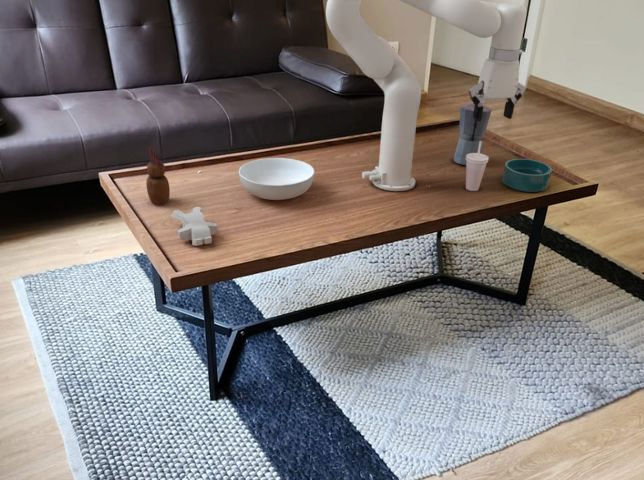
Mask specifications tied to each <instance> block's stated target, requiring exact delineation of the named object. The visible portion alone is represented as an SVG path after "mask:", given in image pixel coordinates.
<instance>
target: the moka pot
mask: <svg viewBox="0 0 644 480" xmlns="http://www.w3.org/2000/svg"><path fill="white" fill-rule="evenodd" d="M474 107H475V104H473V102H472V103H464V104H462V105H460V106H459V138H458V142H457V146H456V148H455V152H454V155H453V162H454V163H456V164H458V165H462V166H466V162H467V160H466V155H467V154H469V153H478V148H479V142H480V141H482V142H481V148H480V154H483V139H484V134H485V133H486V131H487V128H488V124H489V121H490V117H491V114H492V111H493V110H492V108H491V107H489V106H487V105H485V104H483V105H482V107H483V114H482V120H481V121H477V120H476V119H474V118H473V113H474Z"/></svg>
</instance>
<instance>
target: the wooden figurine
mask: <svg viewBox="0 0 644 480" xmlns="http://www.w3.org/2000/svg"><path fill="white" fill-rule="evenodd" d="M149 159H150V160H149V162H148V163H147V165H146V173H147V175H148V177H147V178H146V191H147V196H148V198H149V200H150V202H151V203H152V204H153V205H157V206H158V205H164V204H166V203H168V201H169V199H170V195H171V193H170V192H171V191H170V190H171V189H170V183H169V180H168V178H167V176H166V175H165V173H166V166H165V164H164V163H163V162H162V161H160V159H159V157H158V155H157V154H156V153H155V149H152V147H151V145H150V146H149Z"/></svg>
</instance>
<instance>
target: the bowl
mask: <svg viewBox="0 0 644 480" xmlns="http://www.w3.org/2000/svg"><path fill="white" fill-rule="evenodd" d="M503 168H504V169H503V172H502V173H503V174H502V178H501V182H502V183H503V184H504V185H505V186H506V187H509V188H510V189H513V190H516V191H520V192H526V193H536V192H542V191H545V190H547V189H548V188H549V184H550V181H551V176H552V171H553V167H551V166H550V165H548V164H547V163H544V162H542V161H539V160H535V159H529V158H513V159H508V160H507V161H505V163H504V167H503Z"/></svg>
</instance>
